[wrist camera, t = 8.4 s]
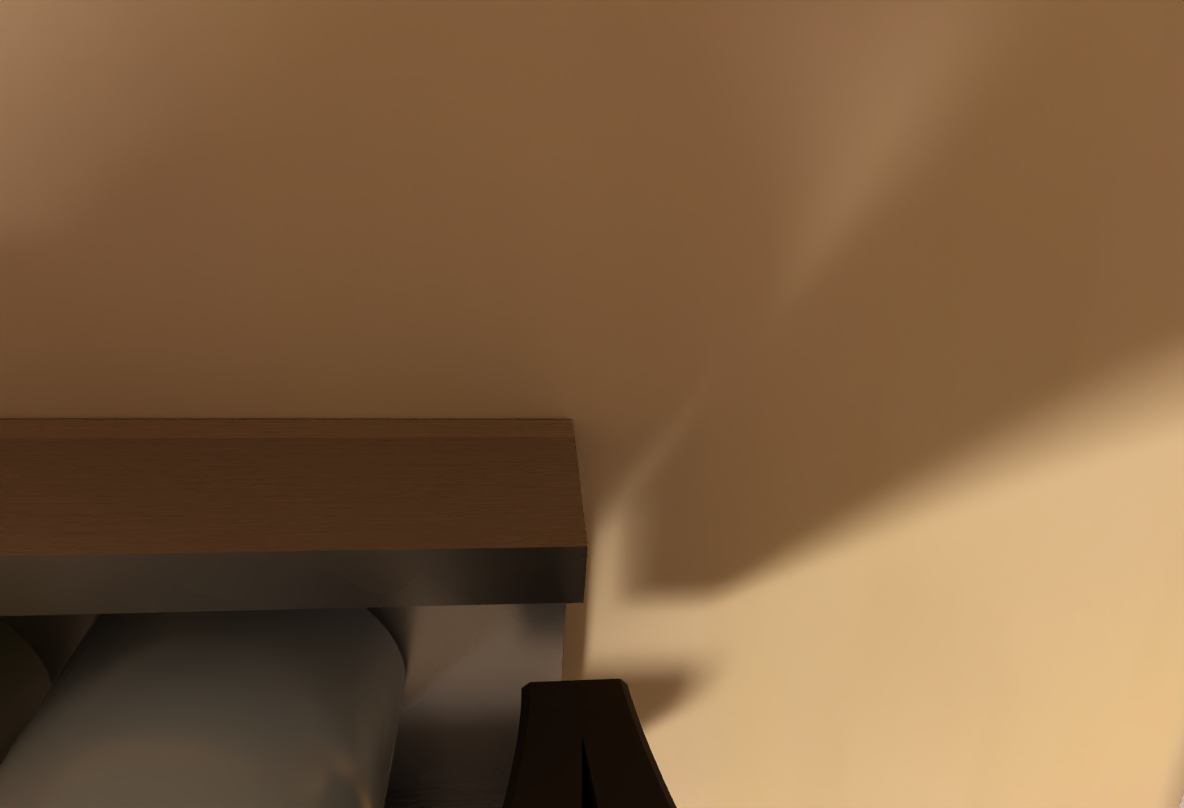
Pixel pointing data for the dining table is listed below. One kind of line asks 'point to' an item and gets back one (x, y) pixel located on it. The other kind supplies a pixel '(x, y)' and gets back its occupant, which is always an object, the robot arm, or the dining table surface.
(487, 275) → the dining table surface
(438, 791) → the lane
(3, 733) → the jar
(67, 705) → the jar
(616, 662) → the dining table surface
